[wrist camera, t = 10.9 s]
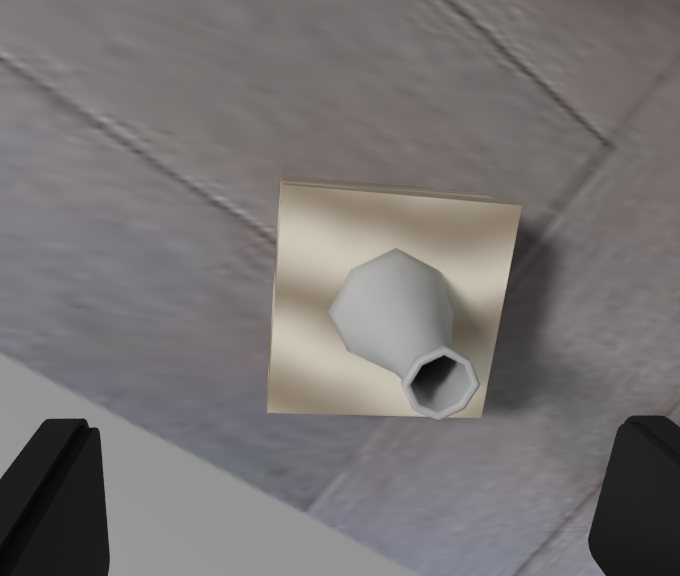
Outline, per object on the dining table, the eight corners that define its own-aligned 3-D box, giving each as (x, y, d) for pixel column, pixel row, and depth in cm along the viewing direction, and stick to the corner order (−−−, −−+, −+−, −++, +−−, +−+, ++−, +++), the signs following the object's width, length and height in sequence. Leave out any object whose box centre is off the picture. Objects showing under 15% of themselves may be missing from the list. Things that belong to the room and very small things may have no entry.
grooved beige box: (280, 175, 35) (282, 184, 28) (477, 193, 37) (521, 205, 30) (268, 365, 39) (267, 412, 32) (447, 371, 41) (481, 418, 34)
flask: (472, 309, 32) (556, 383, 22) (385, 386, 33) (431, 489, 23) (396, 225, 30) (454, 267, 20) (305, 309, 30) (320, 388, 21)
